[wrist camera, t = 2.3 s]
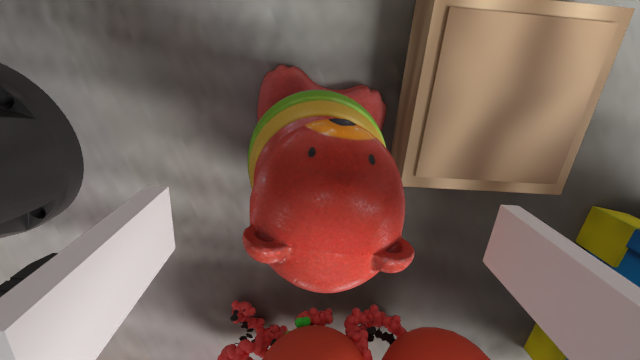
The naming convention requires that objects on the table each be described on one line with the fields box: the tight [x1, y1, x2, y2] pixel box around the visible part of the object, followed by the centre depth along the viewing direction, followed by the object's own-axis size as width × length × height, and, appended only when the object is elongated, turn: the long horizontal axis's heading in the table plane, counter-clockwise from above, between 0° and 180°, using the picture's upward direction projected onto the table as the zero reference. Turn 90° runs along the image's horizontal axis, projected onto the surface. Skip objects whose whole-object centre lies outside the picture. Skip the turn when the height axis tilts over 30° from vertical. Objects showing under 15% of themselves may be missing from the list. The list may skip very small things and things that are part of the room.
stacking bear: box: [242, 65, 415, 293], centre depth 19 cm, size 11×10×18 cm
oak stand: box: [391, 0, 635, 195], centre depth 24 cm, size 14×14×4 cm
